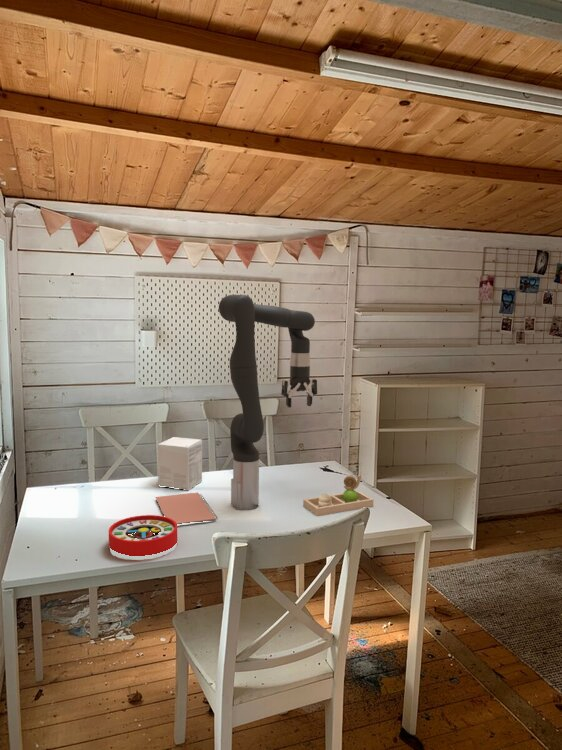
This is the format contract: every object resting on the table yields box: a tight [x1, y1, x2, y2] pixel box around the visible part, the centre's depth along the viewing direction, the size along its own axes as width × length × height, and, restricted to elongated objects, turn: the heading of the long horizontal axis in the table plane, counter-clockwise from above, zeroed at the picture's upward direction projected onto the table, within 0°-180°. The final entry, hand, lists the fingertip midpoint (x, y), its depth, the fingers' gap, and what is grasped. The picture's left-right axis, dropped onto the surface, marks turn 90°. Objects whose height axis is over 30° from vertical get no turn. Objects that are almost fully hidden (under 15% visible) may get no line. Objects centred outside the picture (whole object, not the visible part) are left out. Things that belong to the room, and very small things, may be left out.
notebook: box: [154, 491, 218, 524], centre depth 199 cm, size 27×17×2 cm, turn 21°
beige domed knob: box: [318, 493, 332, 507], centre depth 200 cm, size 5×5×5 cm
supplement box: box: [157, 436, 203, 491], centre depth 226 cm, size 13×13×18 cm
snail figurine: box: [343, 471, 362, 503], centre depth 204 cm, size 5×6×12 cm
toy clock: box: [108, 514, 178, 556], centre depth 170 cm, size 20×6×20 cm
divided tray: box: [302, 490, 374, 517], centre depth 203 cm, size 23×10×4 cm, turn 116°
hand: (299, 406), depth 218 cm, fingers open, 8 cm apart
